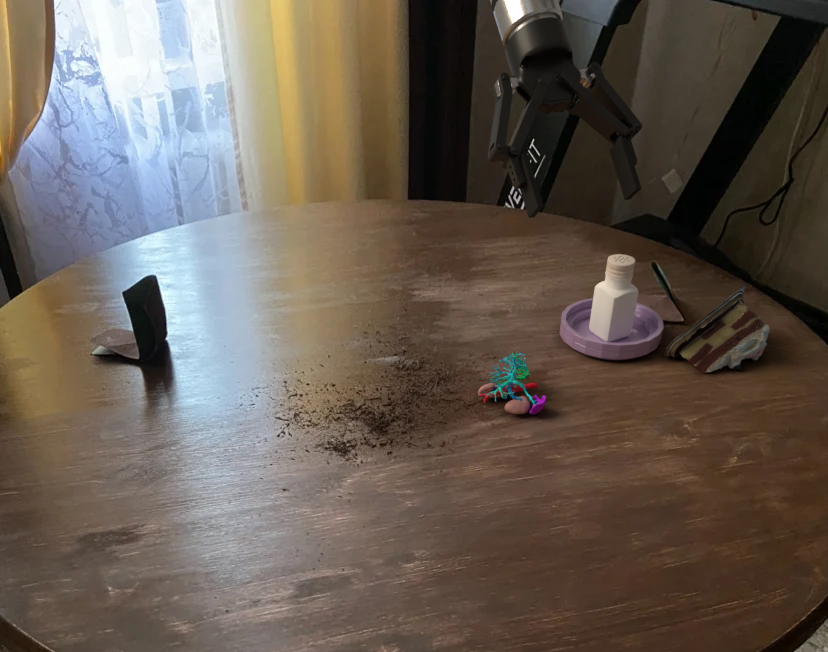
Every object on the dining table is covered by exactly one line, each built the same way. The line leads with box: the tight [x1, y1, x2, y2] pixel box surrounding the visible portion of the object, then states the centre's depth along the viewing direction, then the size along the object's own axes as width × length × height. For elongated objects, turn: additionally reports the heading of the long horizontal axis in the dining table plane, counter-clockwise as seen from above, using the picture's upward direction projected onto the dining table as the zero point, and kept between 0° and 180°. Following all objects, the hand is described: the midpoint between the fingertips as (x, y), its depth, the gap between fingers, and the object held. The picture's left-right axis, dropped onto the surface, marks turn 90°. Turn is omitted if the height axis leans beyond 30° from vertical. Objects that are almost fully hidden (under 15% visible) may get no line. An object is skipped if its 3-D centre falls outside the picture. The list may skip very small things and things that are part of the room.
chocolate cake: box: [664, 284, 771, 374], centre depth 99 cm, size 10×7×12 cm
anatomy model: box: [477, 350, 547, 416], centre depth 91 cm, size 5×8×7 cm
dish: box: [559, 297, 664, 361], centre depth 103 cm, size 12×12×2 cm
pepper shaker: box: [589, 253, 639, 342], centre depth 100 cm, size 4×4×10 cm
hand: (585, 203), depth 100 cm, fingers open, 13 cm apart
